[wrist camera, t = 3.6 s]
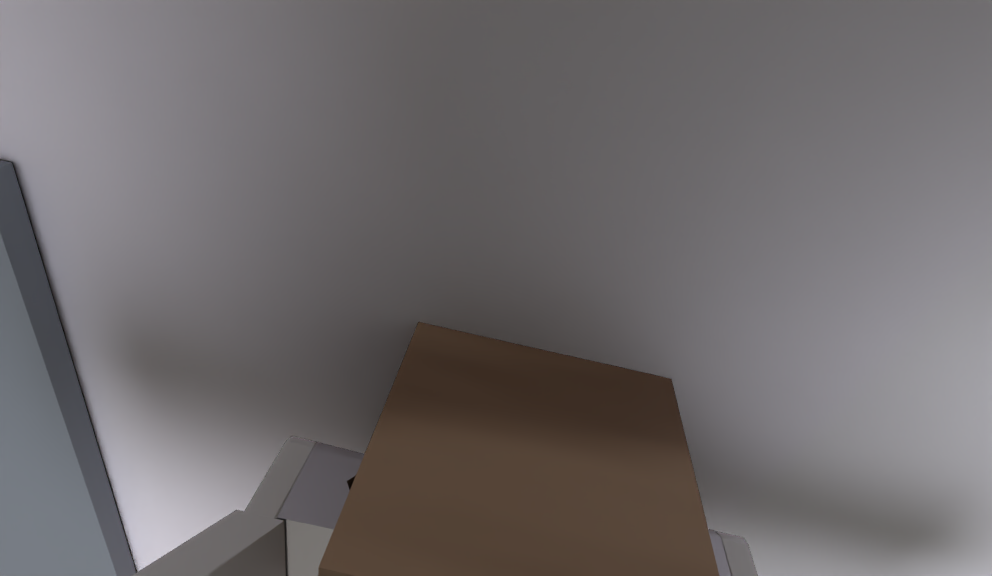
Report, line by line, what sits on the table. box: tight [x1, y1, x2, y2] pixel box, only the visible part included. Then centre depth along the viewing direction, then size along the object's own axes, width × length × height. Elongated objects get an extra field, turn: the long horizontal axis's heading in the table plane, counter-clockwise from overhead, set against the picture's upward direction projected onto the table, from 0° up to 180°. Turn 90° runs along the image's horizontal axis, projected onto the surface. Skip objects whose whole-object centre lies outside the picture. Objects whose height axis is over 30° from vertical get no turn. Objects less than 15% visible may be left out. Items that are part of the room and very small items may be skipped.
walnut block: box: [318, 322, 719, 576], centre depth 10 cm, size 5×5×5 cm
